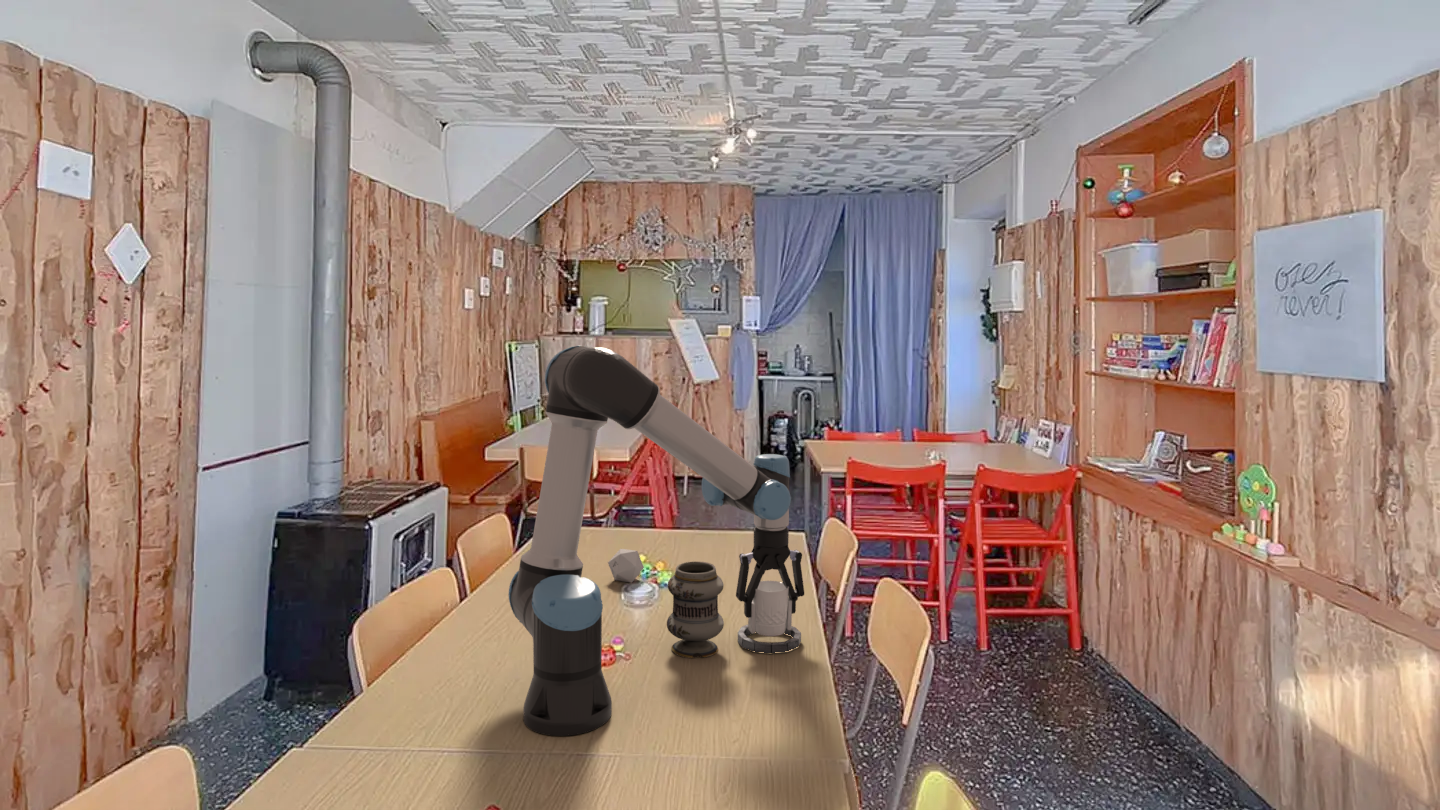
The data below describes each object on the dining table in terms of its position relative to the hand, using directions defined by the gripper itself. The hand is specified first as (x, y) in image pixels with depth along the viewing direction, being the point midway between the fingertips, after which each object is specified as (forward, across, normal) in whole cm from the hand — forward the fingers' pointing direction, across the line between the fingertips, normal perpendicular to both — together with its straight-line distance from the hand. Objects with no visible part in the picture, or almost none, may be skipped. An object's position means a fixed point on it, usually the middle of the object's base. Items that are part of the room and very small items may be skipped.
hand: (769, 629), depth 174 cm
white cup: (0, 0, 0) cm, 0 cm away
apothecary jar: (+3, +17, 0) cm, 17 cm away
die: (+3, +24, -51) cm, 56 cm away
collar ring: (+3, 0, 0) cm, 3 cm away
